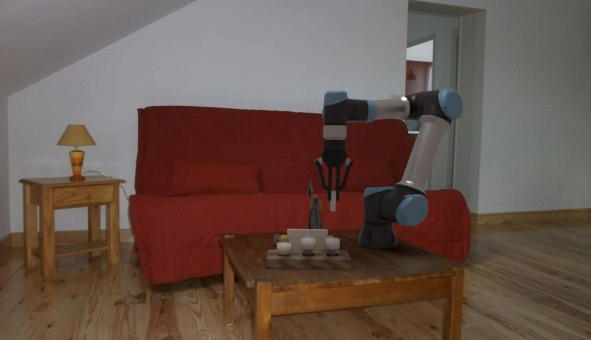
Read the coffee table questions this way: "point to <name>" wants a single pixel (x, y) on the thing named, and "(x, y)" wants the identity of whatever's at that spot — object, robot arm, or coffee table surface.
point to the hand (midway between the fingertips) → (332, 210)
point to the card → (297, 234)
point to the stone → (277, 238)
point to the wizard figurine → (314, 210)
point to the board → (309, 260)
